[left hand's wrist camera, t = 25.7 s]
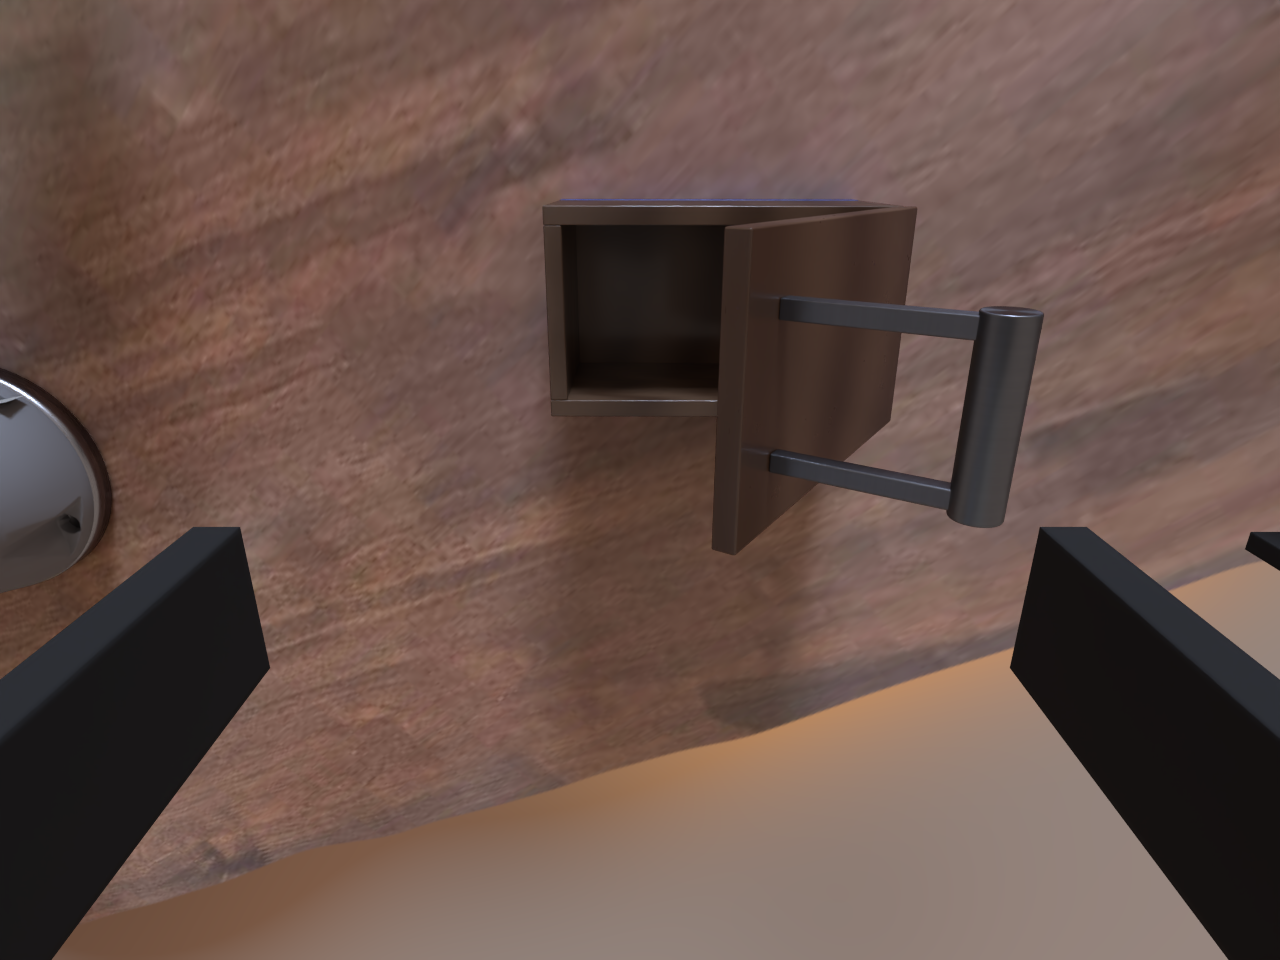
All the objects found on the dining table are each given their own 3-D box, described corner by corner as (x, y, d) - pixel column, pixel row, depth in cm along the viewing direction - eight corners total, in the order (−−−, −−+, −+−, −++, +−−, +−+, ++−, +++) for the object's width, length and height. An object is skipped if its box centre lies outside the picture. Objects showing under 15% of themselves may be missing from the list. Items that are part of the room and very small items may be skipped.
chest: (567, 373, 49) (551, 416, 40) (561, 199, 45) (541, 205, 36) (836, 373, 49) (879, 417, 40) (853, 199, 45) (904, 205, 36)
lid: (710, 549, 26) (973, 623, 22) (723, 226, 22) (1046, 239, 18) (873, 418, 40) (1052, 447, 35) (898, 206, 36) (1102, 210, 32)
